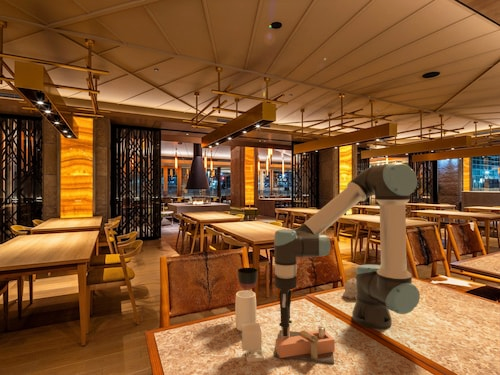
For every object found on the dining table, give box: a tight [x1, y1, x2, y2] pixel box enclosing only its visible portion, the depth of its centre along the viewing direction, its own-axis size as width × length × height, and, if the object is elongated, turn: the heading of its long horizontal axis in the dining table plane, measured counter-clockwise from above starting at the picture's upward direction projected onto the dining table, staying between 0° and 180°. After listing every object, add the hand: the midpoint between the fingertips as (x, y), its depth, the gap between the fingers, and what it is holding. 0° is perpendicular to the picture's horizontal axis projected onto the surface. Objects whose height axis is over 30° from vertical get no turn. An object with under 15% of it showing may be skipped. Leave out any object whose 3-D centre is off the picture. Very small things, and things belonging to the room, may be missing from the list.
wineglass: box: [237, 267, 258, 291], centre depth 123 cm, size 8×9×20 cm
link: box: [275, 330, 336, 359], centre depth 94 cm, size 19×7×4 cm, turn 104°
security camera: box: [240, 322, 265, 363], centre depth 92 cm, size 6×7×10 cm
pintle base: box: [273, 326, 335, 365], centre depth 97 cm, size 19×17×8 cm
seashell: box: [342, 277, 357, 301], centre depth 144 cm, size 12×14×10 cm
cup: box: [234, 289, 257, 332], centre depth 111 cm, size 8×8×14 cm
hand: (285, 343), depth 96 cm, fingers closed
